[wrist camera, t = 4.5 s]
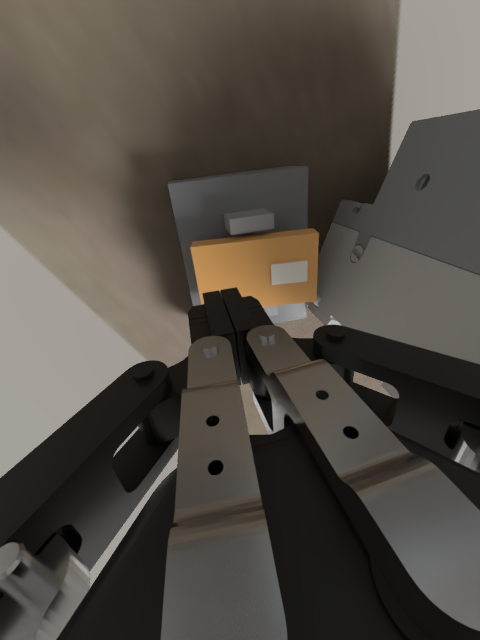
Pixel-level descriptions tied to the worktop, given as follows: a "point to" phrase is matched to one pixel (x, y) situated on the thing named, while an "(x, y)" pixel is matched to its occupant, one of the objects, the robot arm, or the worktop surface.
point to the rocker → (260, 266)
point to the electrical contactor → (412, 246)
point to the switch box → (240, 214)
